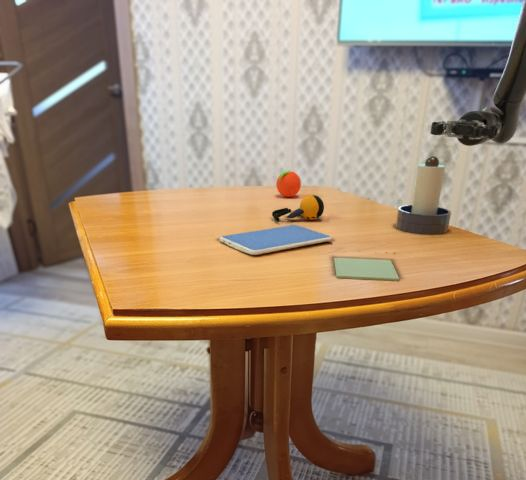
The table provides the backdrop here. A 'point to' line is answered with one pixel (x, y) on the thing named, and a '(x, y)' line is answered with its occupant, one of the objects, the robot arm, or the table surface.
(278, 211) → the character figurine
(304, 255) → the table surface
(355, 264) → the napkin
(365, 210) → the table surface
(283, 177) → the clementine
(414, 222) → the bowl
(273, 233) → the tablet
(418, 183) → the pepper mill
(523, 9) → the robot arm
